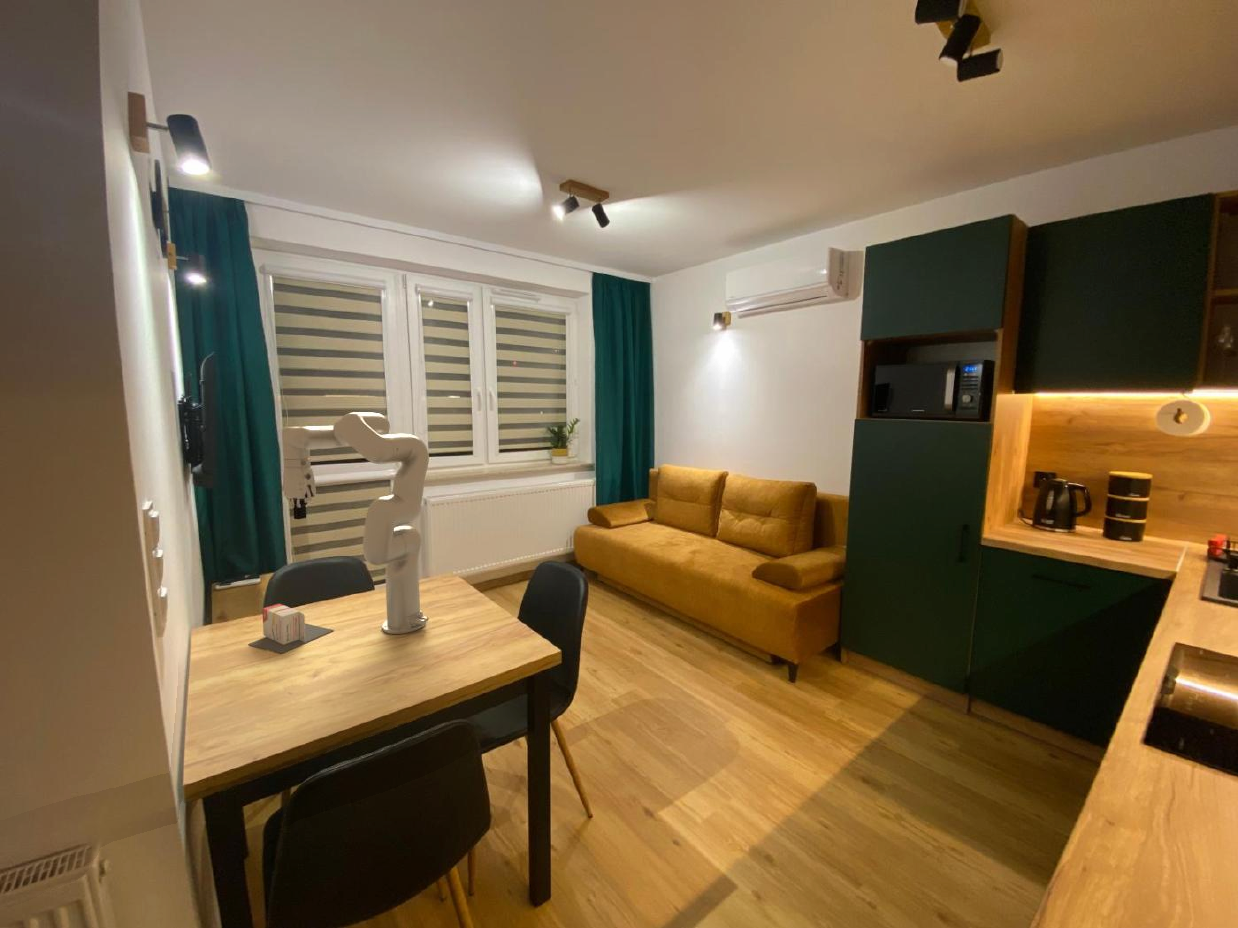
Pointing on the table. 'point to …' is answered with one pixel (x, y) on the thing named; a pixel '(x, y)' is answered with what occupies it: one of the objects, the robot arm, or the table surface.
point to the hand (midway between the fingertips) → (300, 518)
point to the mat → (310, 634)
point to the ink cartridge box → (283, 624)
